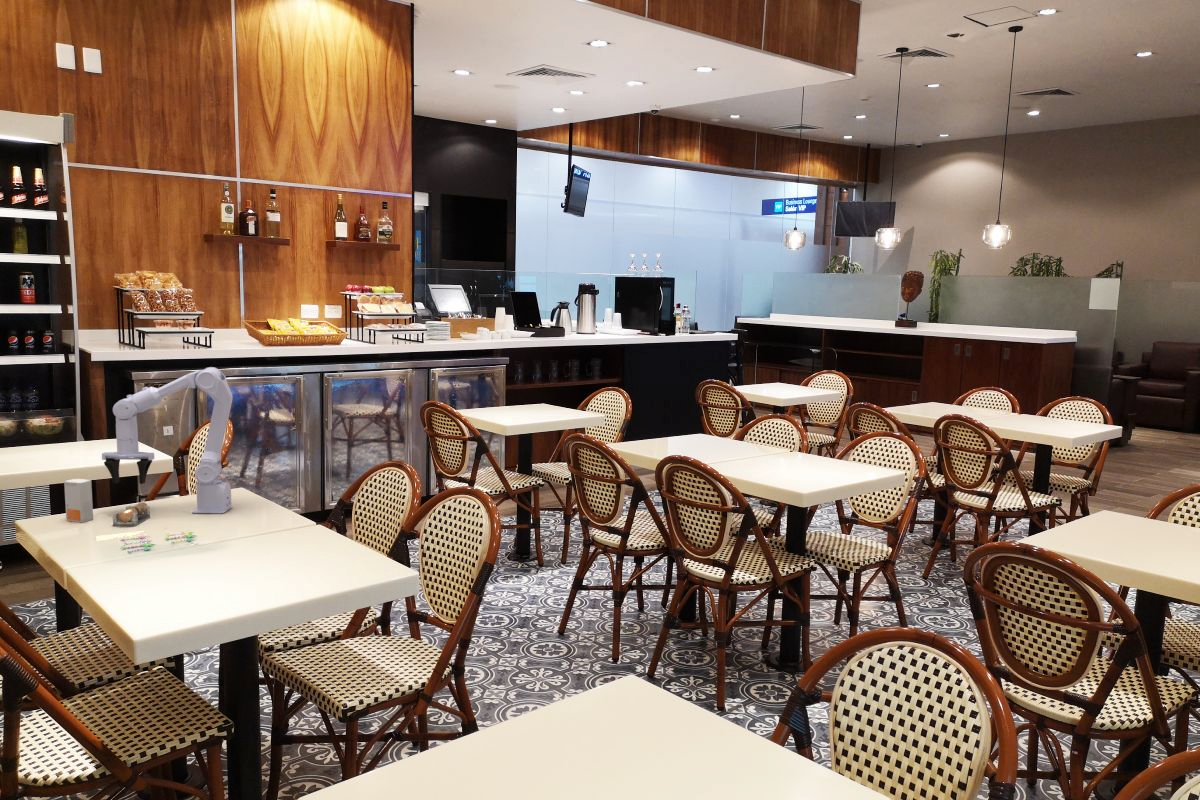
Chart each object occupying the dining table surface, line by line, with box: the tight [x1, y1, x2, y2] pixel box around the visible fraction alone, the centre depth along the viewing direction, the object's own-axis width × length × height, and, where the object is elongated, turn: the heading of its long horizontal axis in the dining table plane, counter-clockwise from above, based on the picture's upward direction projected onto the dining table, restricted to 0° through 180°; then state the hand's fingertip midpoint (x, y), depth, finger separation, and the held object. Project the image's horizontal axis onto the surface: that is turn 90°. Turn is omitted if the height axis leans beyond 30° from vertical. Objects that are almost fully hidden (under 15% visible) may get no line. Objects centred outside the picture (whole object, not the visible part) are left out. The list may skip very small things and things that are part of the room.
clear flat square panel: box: [95, 530, 197, 553], centre depth 244 cm, size 30×30×2 cm
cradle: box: [112, 505, 151, 527], centre depth 263 cm, size 6×10×4 cm, turn 3°
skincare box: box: [63, 478, 94, 524], centre depth 263 cm, size 6×4×12 cm
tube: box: [118, 501, 148, 523], centre depth 263 cm, size 12×3×3 cm, turn 3°
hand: (129, 483), depth 271 cm, fingers open, 7 cm apart
